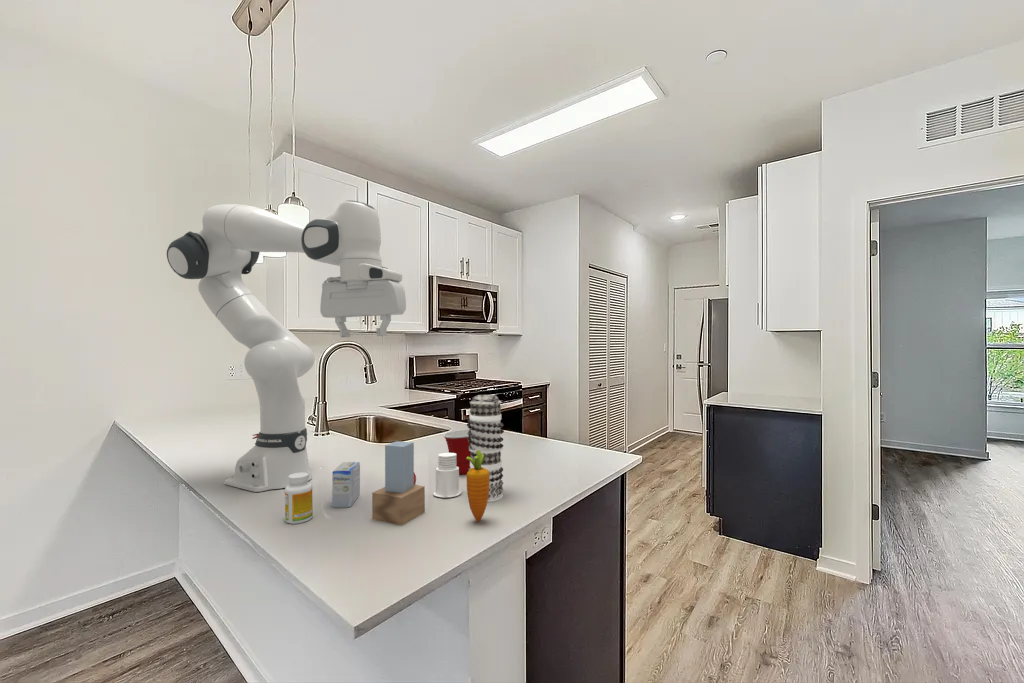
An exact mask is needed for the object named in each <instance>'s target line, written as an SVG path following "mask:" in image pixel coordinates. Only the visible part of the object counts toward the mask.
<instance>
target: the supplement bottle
mask: <svg viewBox="0 0 1024 683" xmlns="http://www.w3.org/2000/svg"><path fill="white" fill-rule="evenodd" d="M308 480H309V474H308V473H304V472H302V473H294V474H291V475H289V477H288V482H289V483H290V485H288V486H287V487H286V488H284V511H285V512H284V518H285V519H284V520H285V523H287V524H291V525H295V524H303V523H305V522H308V521H310V520H311V519H313V516H314V515H313V513H314V512H313V485H312V484H311V482H309V481H310V480H309V481H308Z"/></svg>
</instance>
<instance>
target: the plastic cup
mask: <svg viewBox="0 0 1024 683" xmlns="http://www.w3.org/2000/svg"><path fill="white" fill-rule="evenodd" d="M469 430H470V429H469V428H465V429H464V428H462V429H457V430H452V431H447V432H445V433H443V434H442V435H443V438H444V439H445V442H446V444H447V448H448V449H447V450H448V453H456V466H457V467H459V476H460V475H461V476H463V475H467V472H468V471H469V468H470V461H469V460H467V459H466V458H467V457H470V458H471V451H469V448H468V446H469V445H470V444H471V443H469V442H468V438H469V435H468V431H469Z"/></svg>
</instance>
